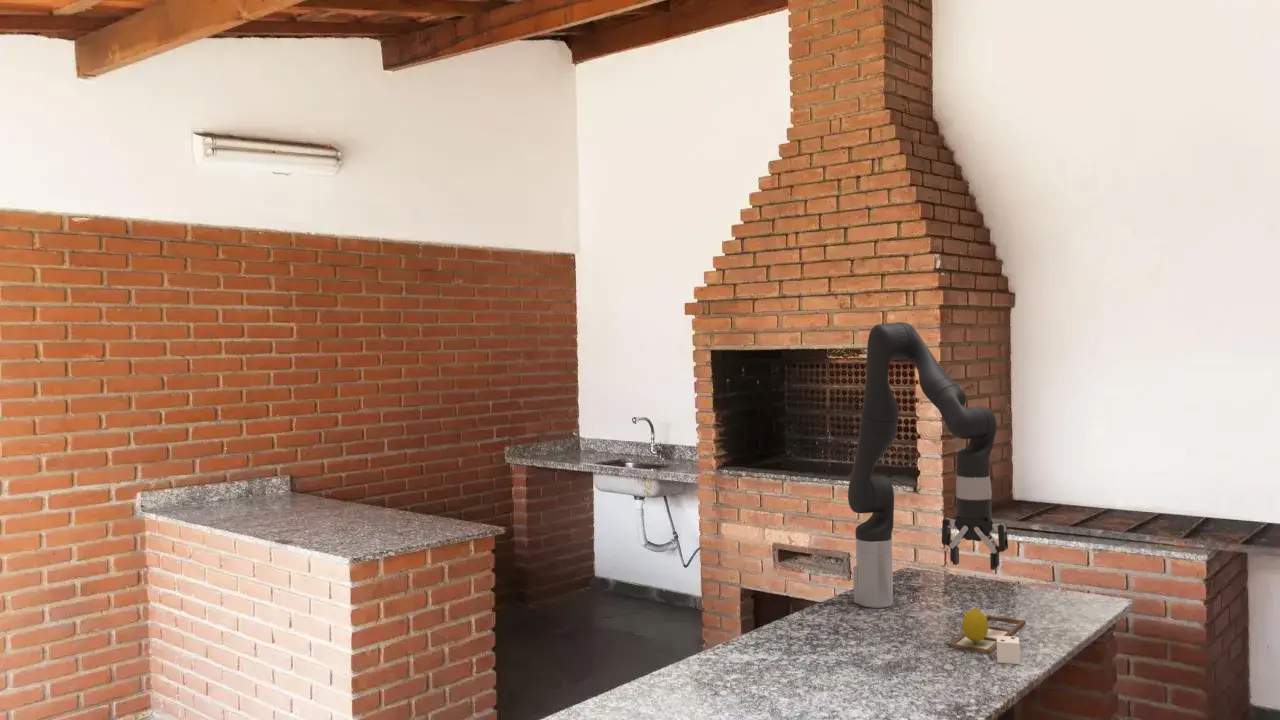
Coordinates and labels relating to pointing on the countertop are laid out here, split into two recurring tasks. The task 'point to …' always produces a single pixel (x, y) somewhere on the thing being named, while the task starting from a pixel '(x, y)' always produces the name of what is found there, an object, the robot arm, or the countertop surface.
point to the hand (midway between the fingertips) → (974, 566)
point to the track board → (987, 636)
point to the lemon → (975, 625)
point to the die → (1008, 649)
